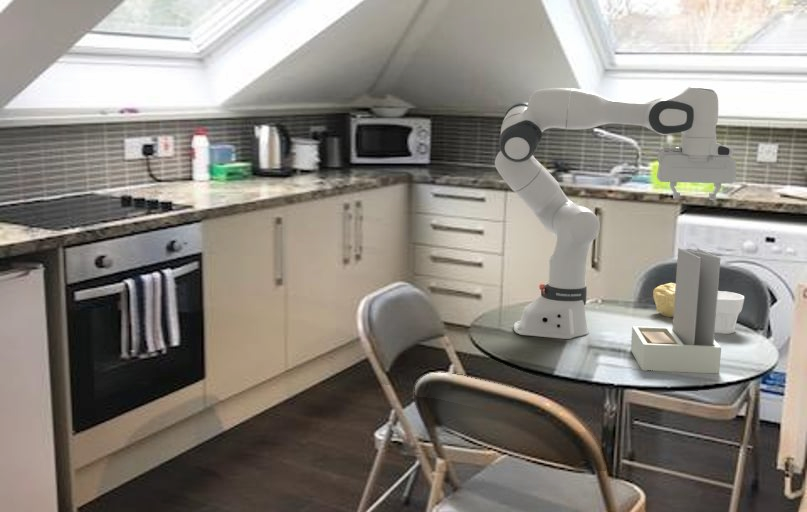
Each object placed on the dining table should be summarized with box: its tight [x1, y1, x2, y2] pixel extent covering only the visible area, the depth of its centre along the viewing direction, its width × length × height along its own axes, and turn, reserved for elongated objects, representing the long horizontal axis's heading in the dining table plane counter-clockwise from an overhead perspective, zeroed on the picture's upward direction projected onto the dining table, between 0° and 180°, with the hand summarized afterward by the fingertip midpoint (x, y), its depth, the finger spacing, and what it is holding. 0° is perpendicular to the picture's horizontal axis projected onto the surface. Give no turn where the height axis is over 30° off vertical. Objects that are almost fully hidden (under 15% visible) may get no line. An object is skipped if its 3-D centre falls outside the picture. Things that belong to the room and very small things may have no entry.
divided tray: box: [630, 325, 722, 374], centre depth 234 cm, size 20×18×7 cm
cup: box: [714, 290, 745, 335], centre depth 266 cm, size 12×12×11 cm
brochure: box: [672, 247, 721, 346], centre depth 231 cm, size 14×6×30 cm, turn 4°
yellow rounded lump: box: [653, 282, 676, 318], centre depth 283 cm, size 11×12×11 cm
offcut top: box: [641, 332, 675, 344], centre depth 234 cm, size 6×11×4 cm, turn 0°
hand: (694, 199), depth 235 cm, fingers open, 8 cm apart
